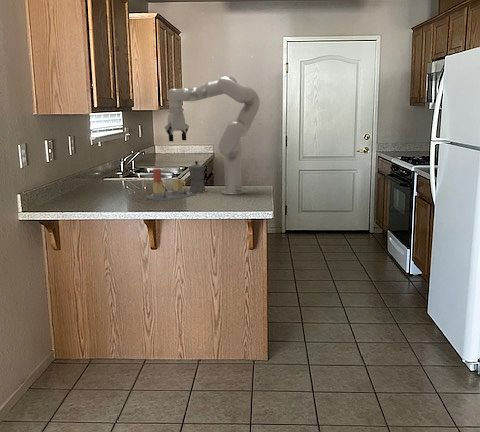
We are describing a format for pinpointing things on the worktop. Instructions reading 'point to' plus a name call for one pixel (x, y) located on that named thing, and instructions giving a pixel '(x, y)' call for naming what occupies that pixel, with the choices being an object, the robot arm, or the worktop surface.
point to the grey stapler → (165, 186)
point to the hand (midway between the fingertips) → (177, 140)
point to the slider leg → (158, 182)
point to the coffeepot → (197, 178)
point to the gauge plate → (173, 196)
